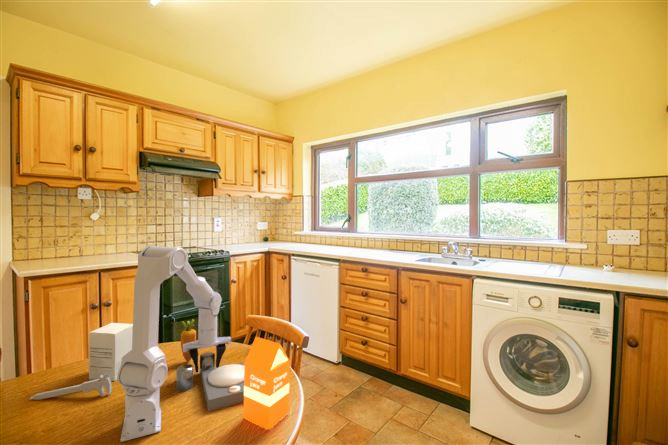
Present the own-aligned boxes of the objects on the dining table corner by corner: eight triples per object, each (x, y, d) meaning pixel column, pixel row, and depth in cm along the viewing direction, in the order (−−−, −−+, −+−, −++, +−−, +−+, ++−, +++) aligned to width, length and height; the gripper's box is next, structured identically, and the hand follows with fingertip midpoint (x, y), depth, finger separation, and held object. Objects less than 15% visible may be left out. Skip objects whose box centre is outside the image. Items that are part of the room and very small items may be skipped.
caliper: (111, 394, 89) (112, 373, 89) (109, 397, 88) (109, 375, 88) (31, 398, 86) (32, 376, 86) (28, 401, 85) (28, 378, 85)
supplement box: (111, 365, 105) (111, 321, 104) (135, 367, 104) (136, 323, 104) (87, 379, 96) (87, 331, 95) (114, 382, 95) (114, 333, 95)
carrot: (177, 364, 107) (177, 321, 106) (187, 358, 112) (187, 316, 111) (189, 366, 106) (190, 322, 105) (198, 359, 110) (199, 318, 110)
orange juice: (264, 403, 86) (265, 332, 86) (289, 414, 81) (290, 339, 81) (242, 418, 79) (244, 341, 79) (268, 431, 75) (270, 349, 74)
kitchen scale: (260, 397, 89) (261, 384, 88) (208, 411, 82) (208, 397, 82) (247, 370, 103) (247, 359, 103) (201, 380, 97) (202, 368, 97)
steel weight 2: (215, 375, 100) (215, 356, 100) (200, 378, 98) (200, 359, 98) (213, 368, 104) (213, 351, 104) (199, 371, 102) (199, 353, 102)
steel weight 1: (193, 389, 92) (193, 369, 92) (176, 393, 90) (176, 373, 90) (192, 382, 96) (192, 363, 96) (175, 385, 94) (176, 366, 93)
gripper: (228, 320, 108) (228, 359, 108) (182, 327, 101) (182, 368, 101) (232, 327, 102) (231, 368, 102) (183, 334, 95) (183, 378, 95)
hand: (207, 369), depth 101 cm, fingers open, 6 cm apart
